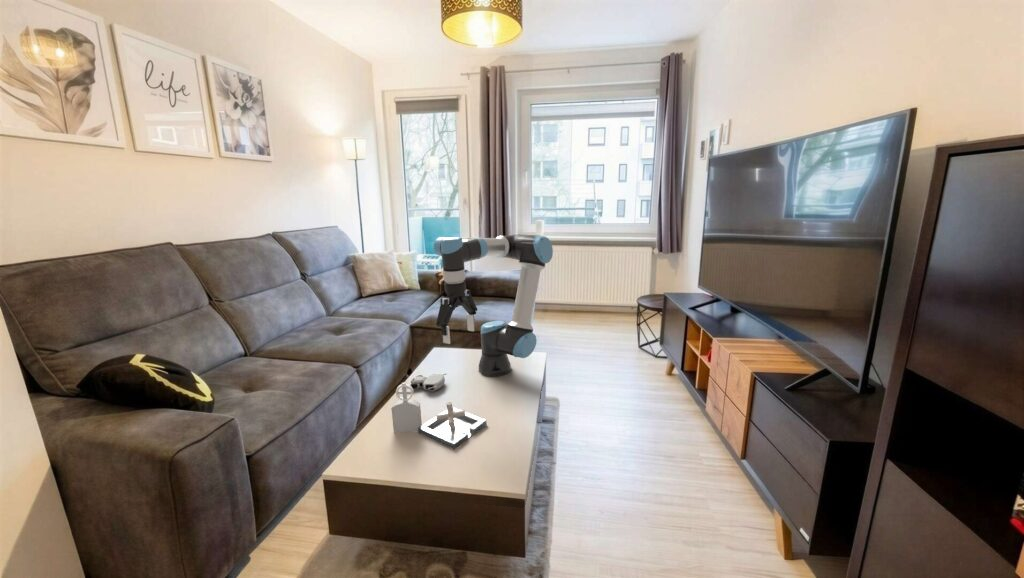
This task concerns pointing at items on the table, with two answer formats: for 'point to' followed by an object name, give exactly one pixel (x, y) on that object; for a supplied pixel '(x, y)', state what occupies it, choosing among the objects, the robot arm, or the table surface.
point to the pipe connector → (450, 415)
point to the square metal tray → (452, 437)
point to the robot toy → (428, 382)
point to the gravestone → (406, 411)
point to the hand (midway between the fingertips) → (459, 336)
